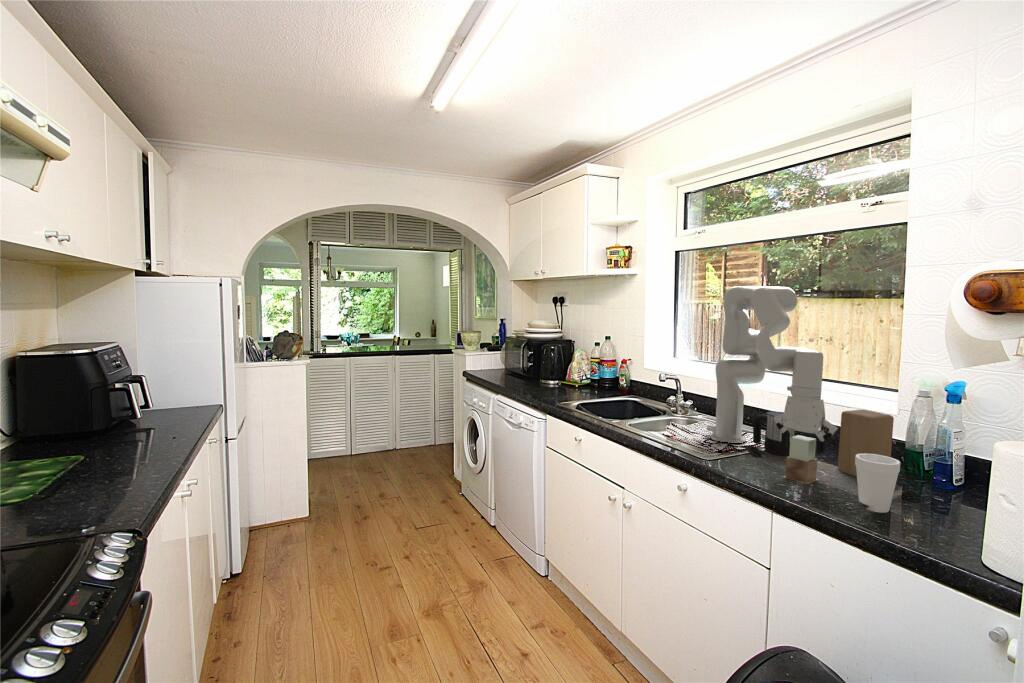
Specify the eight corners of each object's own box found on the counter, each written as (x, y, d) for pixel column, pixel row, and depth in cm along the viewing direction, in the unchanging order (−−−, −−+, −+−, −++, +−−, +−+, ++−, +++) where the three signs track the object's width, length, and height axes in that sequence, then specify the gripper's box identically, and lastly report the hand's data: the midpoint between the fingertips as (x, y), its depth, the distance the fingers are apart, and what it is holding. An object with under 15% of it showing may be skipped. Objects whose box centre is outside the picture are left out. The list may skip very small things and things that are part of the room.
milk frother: (795, 455, 179) (798, 413, 178) (790, 466, 166) (792, 421, 165) (751, 448, 187) (753, 408, 186) (742, 458, 174) (745, 415, 173)
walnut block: (785, 477, 152) (786, 457, 152) (794, 473, 156) (796, 453, 155) (806, 482, 147) (808, 462, 147) (816, 478, 151) (817, 458, 151)
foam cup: (898, 507, 134) (902, 458, 133) (894, 518, 127) (898, 467, 126) (855, 497, 140) (858, 451, 139) (849, 507, 133) (852, 458, 132)
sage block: (789, 457, 152) (790, 437, 151) (796, 454, 155) (798, 435, 154) (807, 461, 148) (808, 441, 147) (814, 458, 151) (816, 438, 150)
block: (857, 470, 164) (862, 408, 162) (890, 480, 154) (895, 415, 153) (835, 473, 160) (840, 410, 158) (867, 484, 151) (872, 417, 149)
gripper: (770, 389, 154) (766, 444, 156) (833, 398, 140) (829, 459, 142) (782, 387, 159) (778, 441, 160) (844, 395, 145) (840, 455, 146)
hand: (802, 449), depth 151 cm, fingers open, 9 cm apart
